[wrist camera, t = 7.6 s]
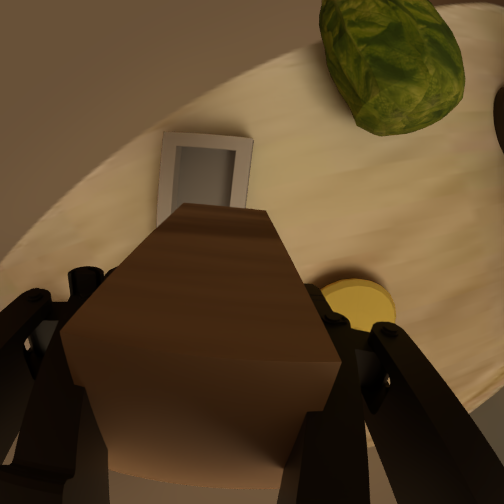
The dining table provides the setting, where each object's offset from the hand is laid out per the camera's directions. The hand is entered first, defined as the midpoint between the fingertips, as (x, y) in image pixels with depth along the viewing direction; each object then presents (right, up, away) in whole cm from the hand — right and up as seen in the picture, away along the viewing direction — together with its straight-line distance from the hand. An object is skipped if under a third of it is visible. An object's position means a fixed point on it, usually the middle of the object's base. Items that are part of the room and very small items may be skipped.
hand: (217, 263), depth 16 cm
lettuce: (+17, +26, +15) cm, 34 cm away
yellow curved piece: (+15, -9, +27) cm, 32 cm away
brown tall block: (0, 0, +3) cm, 3 cm away
